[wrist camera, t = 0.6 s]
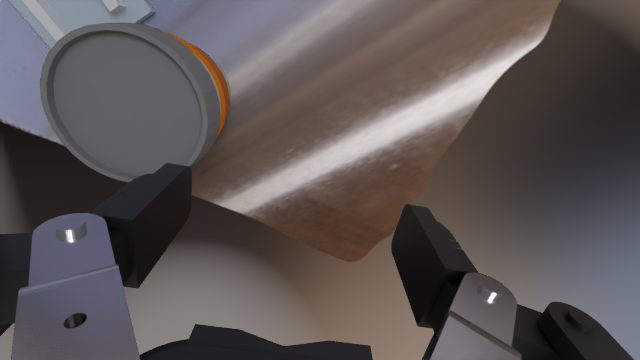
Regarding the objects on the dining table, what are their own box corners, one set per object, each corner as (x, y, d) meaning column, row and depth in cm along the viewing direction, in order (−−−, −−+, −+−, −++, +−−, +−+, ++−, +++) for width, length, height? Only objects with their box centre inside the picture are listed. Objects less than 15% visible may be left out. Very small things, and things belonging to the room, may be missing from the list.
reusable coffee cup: (218, 157, 40) (173, 211, 26) (124, 106, 37) (17, 137, 23) (263, 73, 36) (239, 85, 22) (163, 9, 33) (63, -25, 19)
